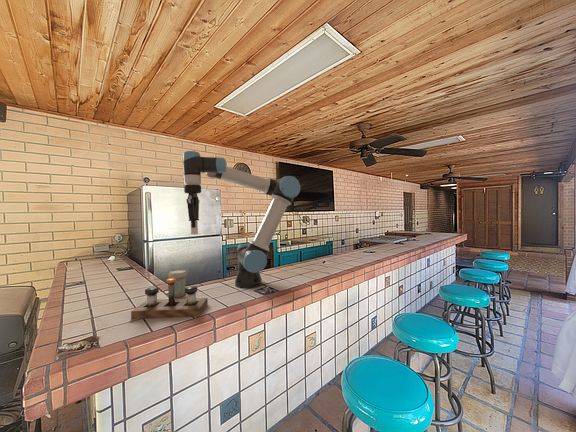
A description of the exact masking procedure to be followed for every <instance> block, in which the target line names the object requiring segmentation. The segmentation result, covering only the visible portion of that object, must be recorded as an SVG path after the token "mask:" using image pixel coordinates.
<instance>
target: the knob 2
mask: <svg viewBox="0 0 576 432" xmlns="http://www.w3.org/2000/svg"><path fill="white" fill-rule="evenodd" d="M197 292H198V286H196V285H191V286H190V285H189V286H185V294H186V299H187V306H195V305H196V298H197Z"/></svg>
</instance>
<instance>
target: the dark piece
mask: <svg viewBox="0 0 576 432" xmlns="http://www.w3.org/2000/svg"><path fill="white" fill-rule="evenodd" d="M175 283H176V279H175V278H171V279H169V278H167V279H166V285H167V286H168V288H167V289H168V290H167V291H168V299H169V305H174V304H175V299H176V298H175Z"/></svg>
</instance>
